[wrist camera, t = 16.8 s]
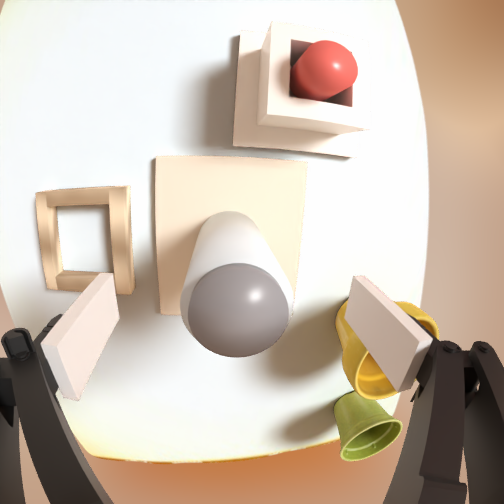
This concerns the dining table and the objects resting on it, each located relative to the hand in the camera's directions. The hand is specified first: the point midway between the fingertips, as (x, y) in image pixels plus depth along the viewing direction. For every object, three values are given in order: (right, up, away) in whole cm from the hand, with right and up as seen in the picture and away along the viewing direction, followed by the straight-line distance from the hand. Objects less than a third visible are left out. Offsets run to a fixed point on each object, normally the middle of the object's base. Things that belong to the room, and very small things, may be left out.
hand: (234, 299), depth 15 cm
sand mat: (-1, +4, +13) cm, 14 cm away
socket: (-16, +4, +11) cm, 20 cm away
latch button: (+6, +17, +6) cm, 19 cm away
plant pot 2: (+16, -21, +23) cm, 35 cm away
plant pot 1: (+14, -5, +18) cm, 23 cm away
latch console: (+5, +18, +9) cm, 21 cm away
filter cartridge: (-1, +3, +12) cm, 13 cm away
